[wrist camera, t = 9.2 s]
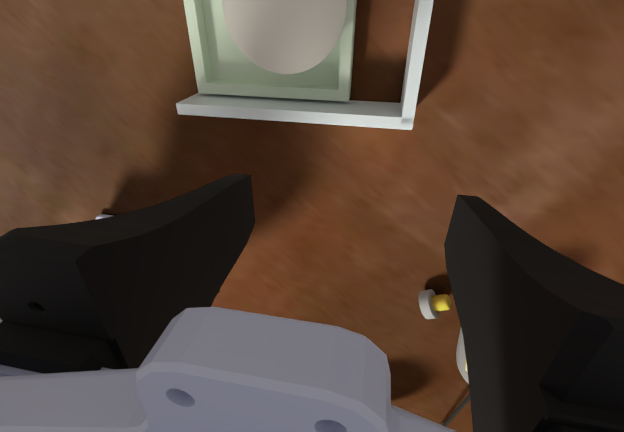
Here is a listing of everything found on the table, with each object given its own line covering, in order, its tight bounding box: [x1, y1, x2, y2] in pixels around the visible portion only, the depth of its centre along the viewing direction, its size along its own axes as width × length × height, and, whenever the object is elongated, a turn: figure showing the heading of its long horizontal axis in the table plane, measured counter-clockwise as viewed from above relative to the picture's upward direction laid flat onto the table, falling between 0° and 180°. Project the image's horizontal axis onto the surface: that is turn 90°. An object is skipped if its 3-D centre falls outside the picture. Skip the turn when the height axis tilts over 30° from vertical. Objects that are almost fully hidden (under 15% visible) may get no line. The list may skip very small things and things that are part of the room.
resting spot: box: [184, 0, 357, 102], centre depth 18 cm, size 9×9×1 cm
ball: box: [222, 0, 347, 74], centre depth 16 cm, size 6×6×6 cm
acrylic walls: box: [176, 0, 434, 130], centre depth 18 cm, size 13×9×3 cm
